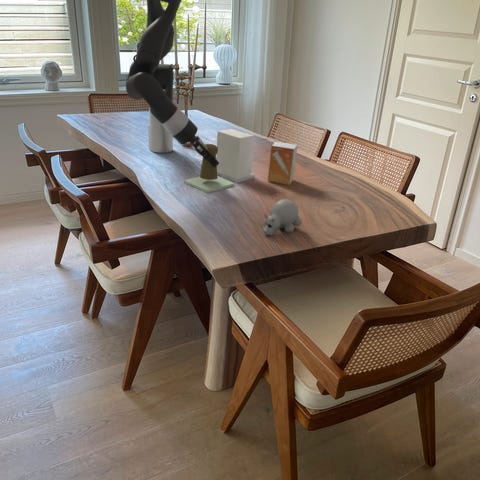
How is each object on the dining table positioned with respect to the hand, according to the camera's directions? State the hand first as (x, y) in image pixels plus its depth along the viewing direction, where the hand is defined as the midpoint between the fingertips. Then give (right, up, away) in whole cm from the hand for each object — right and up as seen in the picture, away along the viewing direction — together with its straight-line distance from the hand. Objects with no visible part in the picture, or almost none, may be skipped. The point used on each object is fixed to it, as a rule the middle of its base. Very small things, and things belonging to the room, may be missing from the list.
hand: (214, 162), depth 152 cm
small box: (+23, -5, +11) cm, 26 cm away
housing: (+6, -2, +13) cm, 14 cm away
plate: (-2, -7, +3) cm, 8 cm away
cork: (-2, -5, +2) cm, 5 cm away
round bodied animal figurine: (+19, -24, -27) cm, 40 cm away
